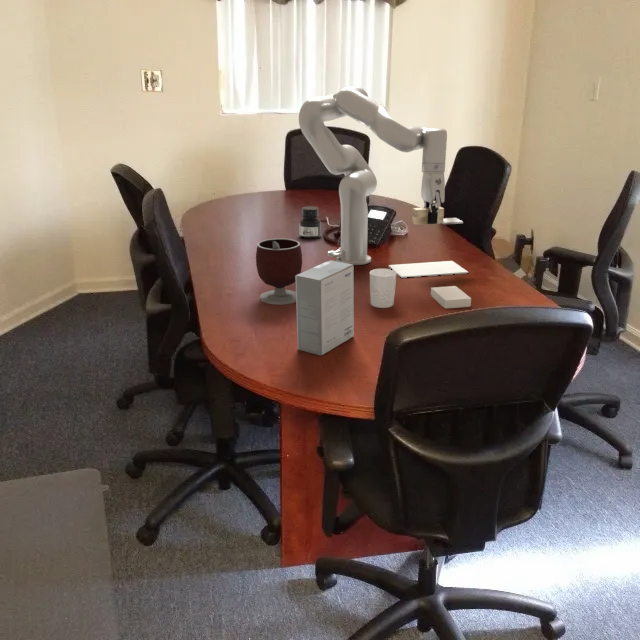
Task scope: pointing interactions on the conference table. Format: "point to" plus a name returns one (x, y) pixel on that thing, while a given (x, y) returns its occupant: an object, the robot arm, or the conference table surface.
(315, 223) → the ink bottle
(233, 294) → the conference table surface
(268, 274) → the mate gourd
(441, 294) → the tile
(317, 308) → the hard drive box
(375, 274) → the white cup
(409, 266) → the mat
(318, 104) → the robot arm
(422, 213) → the cream block on base
